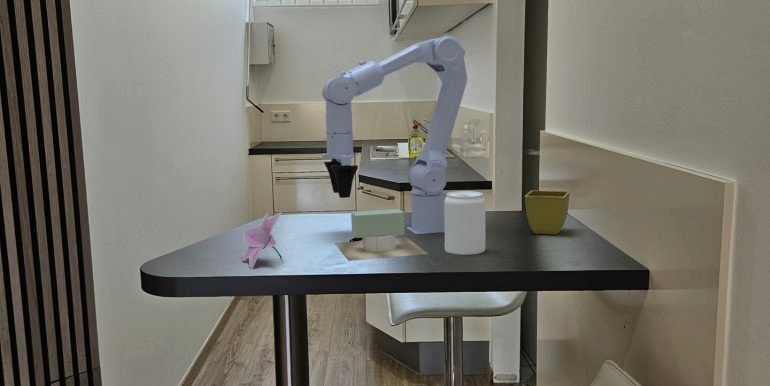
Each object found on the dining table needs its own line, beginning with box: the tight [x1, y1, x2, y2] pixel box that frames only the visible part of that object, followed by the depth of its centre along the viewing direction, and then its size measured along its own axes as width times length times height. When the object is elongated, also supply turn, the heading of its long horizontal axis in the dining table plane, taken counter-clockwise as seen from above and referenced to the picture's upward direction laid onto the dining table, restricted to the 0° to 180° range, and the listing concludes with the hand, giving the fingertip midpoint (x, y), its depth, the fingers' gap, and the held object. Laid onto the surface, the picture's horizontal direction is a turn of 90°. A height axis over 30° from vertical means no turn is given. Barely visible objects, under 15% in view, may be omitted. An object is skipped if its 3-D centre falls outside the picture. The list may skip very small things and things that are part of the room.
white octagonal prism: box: [362, 235, 397, 252], centre depth 144 cm, size 6×6×3 cm
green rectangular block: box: [350, 208, 405, 239], centre depth 143 cm, size 10×4×4 cm, turn 104°
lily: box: [241, 212, 283, 269], centre depth 137 cm, size 12×12×10 cm
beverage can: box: [444, 190, 486, 256], centre depth 140 cm, size 8×8×12 cm
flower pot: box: [524, 189, 571, 236], centre depth 158 cm, size 9×9×9 cm
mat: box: [333, 237, 429, 262], centre depth 144 cm, size 16×16×1 cm
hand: (341, 194), depth 155 cm, fingers open, 7 cm apart
